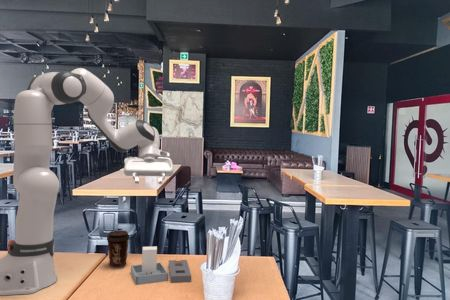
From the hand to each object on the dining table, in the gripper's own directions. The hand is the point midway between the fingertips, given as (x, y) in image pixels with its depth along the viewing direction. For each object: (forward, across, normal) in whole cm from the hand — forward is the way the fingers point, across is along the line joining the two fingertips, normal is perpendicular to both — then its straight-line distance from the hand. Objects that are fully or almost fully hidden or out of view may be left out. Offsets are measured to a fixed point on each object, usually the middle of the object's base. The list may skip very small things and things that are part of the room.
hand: (148, 182), depth 144 cm
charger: (+36, +1, +8) cm, 37 cm away
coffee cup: (+27, -11, +18) cm, 34 cm away
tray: (+36, +1, +8) cm, 37 cm away
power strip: (+35, +12, +10) cm, 38 cm away
